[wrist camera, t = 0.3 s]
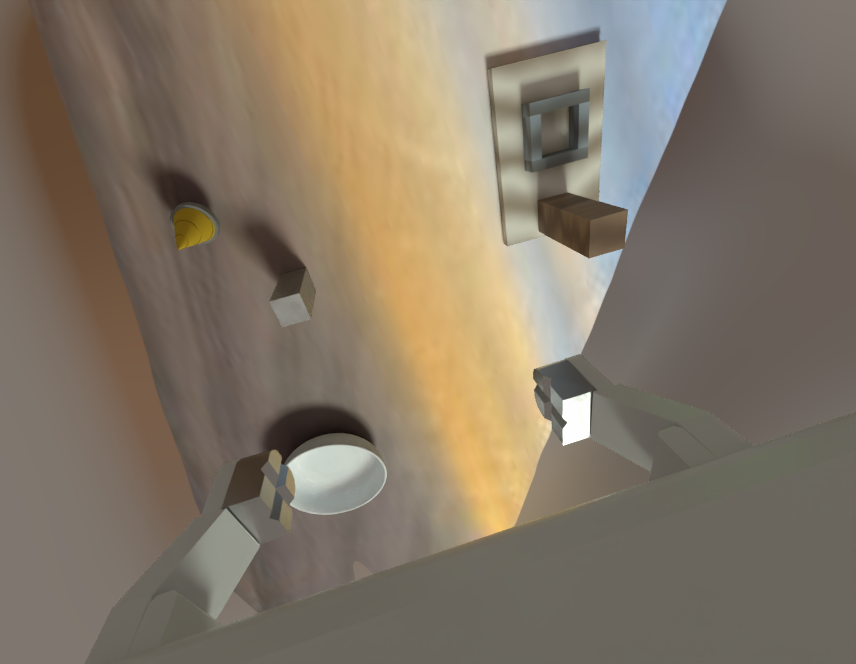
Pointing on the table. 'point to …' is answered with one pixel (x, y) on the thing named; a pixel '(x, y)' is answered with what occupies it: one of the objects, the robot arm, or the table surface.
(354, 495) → the serving bowl
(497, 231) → the table surface
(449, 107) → the table surface
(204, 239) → the yellow cone on disc
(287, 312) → the gray rectangular block
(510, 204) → the socket board with post
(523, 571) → the robot arm
